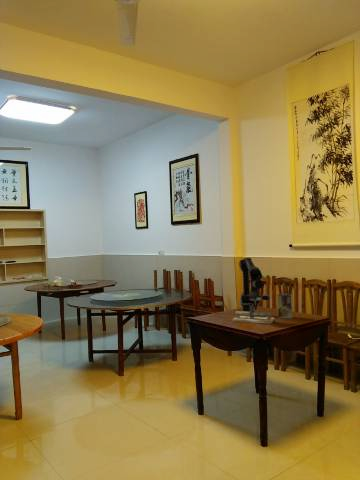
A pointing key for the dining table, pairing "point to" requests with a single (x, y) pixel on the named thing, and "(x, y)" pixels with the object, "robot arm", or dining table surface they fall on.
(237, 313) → the pipe stand
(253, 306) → the dark angular block
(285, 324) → the dining table surface
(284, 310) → the coffee box
